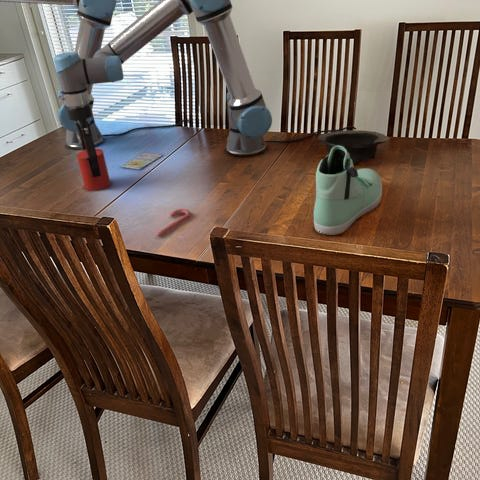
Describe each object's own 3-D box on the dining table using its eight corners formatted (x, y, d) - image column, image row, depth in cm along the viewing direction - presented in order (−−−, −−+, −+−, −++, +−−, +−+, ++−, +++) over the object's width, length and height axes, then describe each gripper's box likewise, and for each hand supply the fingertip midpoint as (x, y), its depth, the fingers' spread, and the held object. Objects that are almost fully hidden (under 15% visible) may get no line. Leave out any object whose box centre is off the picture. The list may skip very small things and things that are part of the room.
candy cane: (144, 233, 135) (143, 228, 134) (179, 210, 145) (179, 206, 144) (160, 238, 132) (159, 233, 131) (195, 214, 142) (194, 210, 141)
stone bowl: (346, 175, 157) (346, 148, 153) (303, 158, 178) (302, 133, 173) (403, 157, 166) (405, 130, 162) (356, 142, 186) (356, 118, 182)
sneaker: (389, 187, 148) (396, 123, 138) (356, 242, 123) (361, 168, 112) (346, 181, 154) (350, 119, 144) (306, 232, 129) (307, 161, 118)
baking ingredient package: (119, 165, 178) (143, 152, 189) (120, 167, 178) (143, 153, 189) (139, 168, 174) (162, 154, 185) (139, 169, 174) (162, 155, 186)
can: (80, 186, 166) (71, 154, 160) (101, 178, 171) (93, 146, 165) (94, 193, 161) (85, 160, 154) (115, 183, 166) (108, 151, 160)
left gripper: (-90, 32, 155) (-64, 97, 166) (-8, 23, 162) (12, 86, 173) (-86, 29, 161) (-61, 93, 172) (-6, 20, 168) (13, 82, 179)
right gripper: (61, 100, 158) (77, 163, 170) (70, 115, 142) (88, 185, 153) (84, 96, 161) (98, 159, 173) (96, 111, 144) (111, 179, 156)
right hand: (94, 171), depth 163 cm, fingers closed on can, 9 cm apart
